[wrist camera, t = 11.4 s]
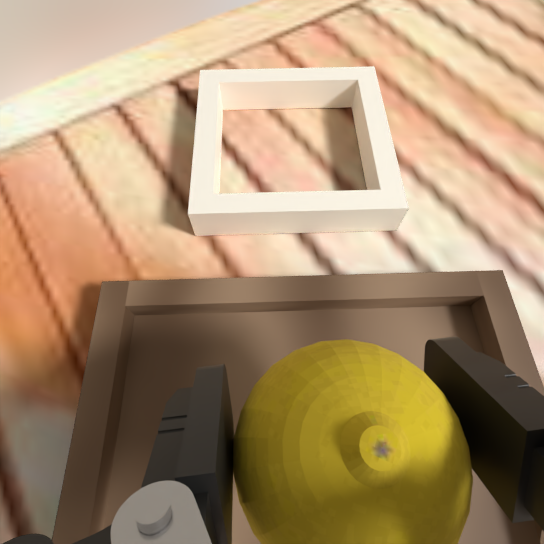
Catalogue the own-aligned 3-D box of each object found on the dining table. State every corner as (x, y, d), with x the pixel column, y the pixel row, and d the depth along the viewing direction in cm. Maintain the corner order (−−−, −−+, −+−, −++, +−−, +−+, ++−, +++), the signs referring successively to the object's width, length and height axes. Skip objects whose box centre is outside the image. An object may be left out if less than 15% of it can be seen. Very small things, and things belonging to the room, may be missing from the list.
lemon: (242, 552, 12) (198, 694, 5) (245, 376, 14) (218, 293, 7) (414, 548, 12) (632, 683, 5) (386, 373, 14) (500, 288, 7)
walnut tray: (51, 700, 12) (12, 744, 10) (119, 298, 18) (102, 281, 16) (601, 676, 12) (658, 714, 10) (480, 288, 18) (502, 270, 17)
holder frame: (195, 235, 20) (187, 214, 18) (205, 98, 25) (200, 70, 23) (396, 230, 20) (408, 208, 18) (367, 94, 25) (374, 66, 23)
